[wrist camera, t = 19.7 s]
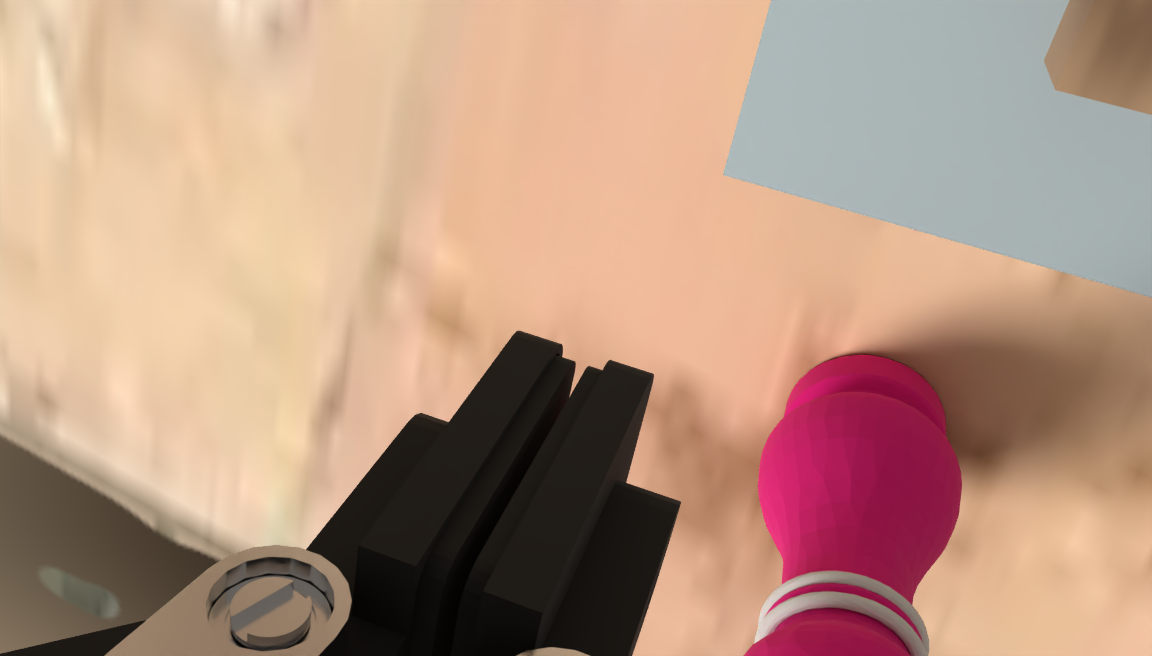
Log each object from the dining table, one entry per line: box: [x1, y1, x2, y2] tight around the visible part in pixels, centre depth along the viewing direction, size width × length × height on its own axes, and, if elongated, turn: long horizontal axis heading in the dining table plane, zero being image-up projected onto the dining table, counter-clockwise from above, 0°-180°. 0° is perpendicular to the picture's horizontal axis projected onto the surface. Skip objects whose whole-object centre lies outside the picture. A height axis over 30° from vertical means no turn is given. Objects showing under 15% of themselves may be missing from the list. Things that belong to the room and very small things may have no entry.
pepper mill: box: [744, 355, 962, 656], centre depth 33 cm, size 7×7×20 cm
